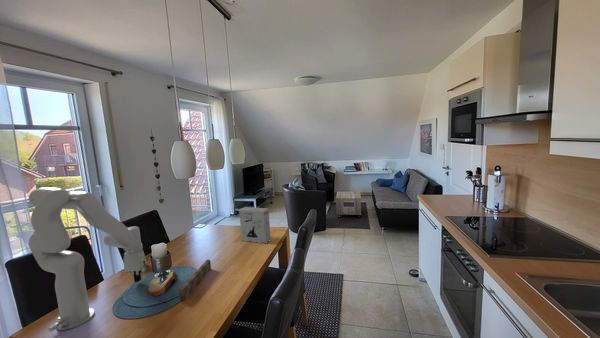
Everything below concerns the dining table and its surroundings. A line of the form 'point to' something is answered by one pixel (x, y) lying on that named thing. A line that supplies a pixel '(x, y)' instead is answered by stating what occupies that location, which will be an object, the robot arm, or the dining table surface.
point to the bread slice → (159, 289)
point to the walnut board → (194, 280)
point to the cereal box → (255, 224)
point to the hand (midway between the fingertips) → (137, 280)
